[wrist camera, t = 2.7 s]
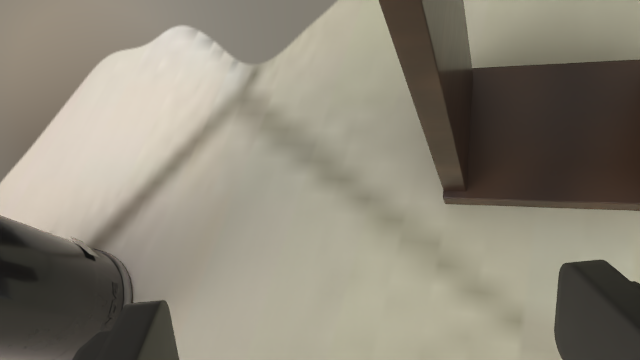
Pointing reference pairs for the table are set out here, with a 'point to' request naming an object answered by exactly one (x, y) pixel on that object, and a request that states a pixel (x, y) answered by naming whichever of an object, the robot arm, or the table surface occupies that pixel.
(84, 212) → the table surface
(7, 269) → the robot arm
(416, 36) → the brown wooden tall frame
